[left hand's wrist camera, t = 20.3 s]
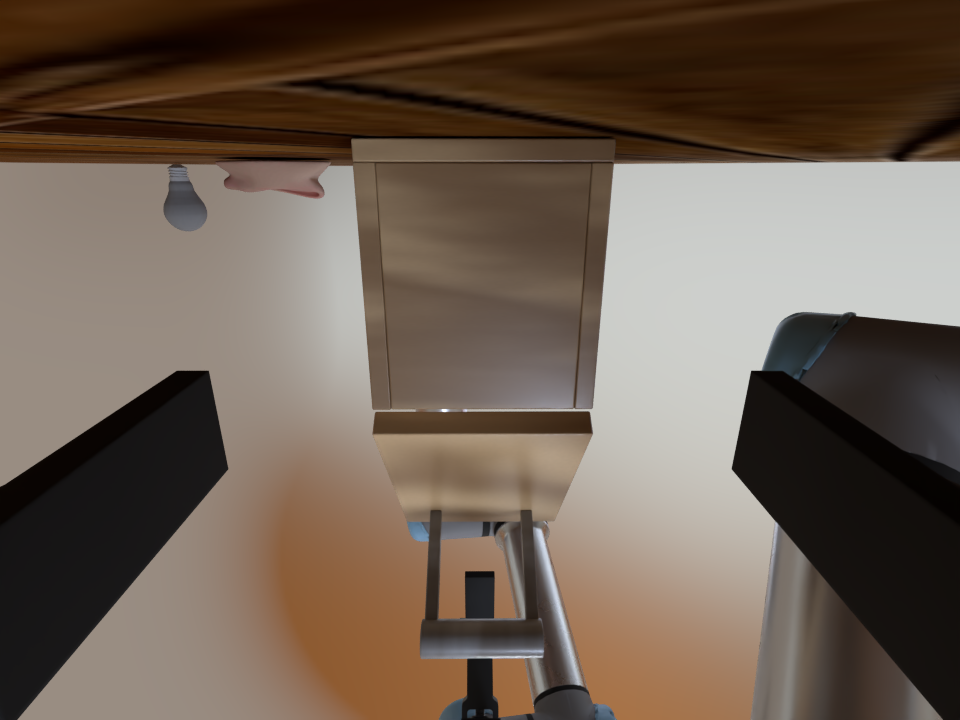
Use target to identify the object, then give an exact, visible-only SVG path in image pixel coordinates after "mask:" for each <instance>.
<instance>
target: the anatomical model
mask: <svg viewBox="0 0 960 720" xmlns="http://www.w3.org/2000/svg"><path fill="white" fill-rule="evenodd" d="M215 163H216V164H217V165H218V166H219V167H221V168H222V169H224V170H225V171H227V172H228V173H229V174H230V176H229V177H228V178H226V179H225V180H224V185H225V187H226V188H228V189H233V190H240V191H244V192H258V191H264V190H275V191H280V192H285V193H290V194H295V195H299V196H304V197H309V198H322V197H323V196H324V190H323V187H322V186H321V185H320V184H319V182H318V177H319V176H320V175H321V174H322V173H323V171H324V170H325V169H326V168H327V167H328V166H329V165H330V164H331V162H328V161H289V160H227V161H216V162H215Z"/></svg>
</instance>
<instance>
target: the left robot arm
mask: <svg viewBox="0 0 960 720" xmlns="http://www.w3.org/2000/svg"><path fill="white" fill-rule="evenodd" d="M227 470H228V465H227V460H226V455H225V450H224V445H223V440H222V435H221V430H220V425H219V420H218V415H217V410H216V405H215V400H214V395H213V390H212V385H211V380H210V375H209V371H176V372H174V373H173V374H171V375H170V376H168V377H167V378H165V379H164V380H162V381H161V382H159V383H158V384H156V385H155V386H153V387H152V388H150V389H149V390H147V391H146V392H144V393H143V394H141V395H140V396H138V397H137V398H135V399H134V400H132V401H131V402H129V403H128V404H126V405H125V406H123V407H122V408H120V409H119V410H117V411H116V412H114V413H113V414H111V415H110V416H108V417H106V418H105V419H103V420H102V421H100V422H99V423H97V424H96V425H94V426H93V427H91V428H90V429H88V430H87V431H85V432H84V433H82V434H81V435H79V436H78V437H76V438H75V439H73V440H72V441H70V442H69V443H67V444H66V445H64V446H63V447H61V448H60V449H58V450H57V451H55V452H54V453H52V454H51V455H49V456H48V457H46V458H44V459H43V460H41V461H40V462H38V463H37V464H35V465H34V466H32V467H31V468H29V469H28V470H26V471H25V472H23V473H22V474H20V475H19V476H17V477H16V478H14V479H13V480H11V481H10V482H8V483H7V484H5V485H3V486H1V487H0V720H17V719H18V718H19V717H20V716H21V714H22V713H23V712H24V711H25V710H26V709H27V707H28V706H29V705H30V704H31V703H32V702H33V700H34V699H35V698H36V697H37V696H38V694H39V693H40V692H41V691H42V690H43V688H44V687H45V686H46V685H47V684H48V682H49V681H50V680H51V679H52V678H53V677H54V675H55V674H56V673H57V672H58V671H59V669H60V668H61V667H62V666H63V665H64V664H65V662H66V661H67V660H68V659H69V658H70V656H71V655H72V654H73V653H74V652H75V651H76V649H77V648H78V647H79V646H80V644H81V643H82V642H83V641H84V640H85V639H86V637H87V636H88V635H89V634H90V633H91V632H92V630H93V629H94V628H95V627H96V626H97V624H98V623H99V622H100V621H101V620H102V618H103V617H104V616H105V615H106V614H107V613H108V611H109V610H110V609H111V608H112V607H113V605H114V604H115V603H116V602H117V601H118V599H119V598H120V597H121V596H122V595H123V594H124V592H125V591H126V590H127V589H128V588H129V586H130V585H131V584H132V583H133V582H134V580H135V579H136V578H137V577H138V576H139V575H140V573H141V572H142V571H143V570H144V569H145V567H146V566H147V565H148V564H149V563H150V561H151V560H152V559H153V558H154V557H155V555H156V554H157V553H158V552H159V551H160V550H161V548H162V547H163V546H164V545H165V544H166V542H167V541H168V540H169V539H170V538H171V537H172V535H173V534H174V533H175V532H176V531H177V529H178V528H179V527H180V526H181V525H182V523H183V522H184V521H185V520H186V519H187V518H188V516H189V515H190V514H191V513H192V512H193V510H194V509H195V508H196V507H197V506H198V505H199V503H200V502H201V501H202V500H203V499H204V497H205V496H206V495H207V494H208V493H209V491H210V490H211V489H212V488H213V487H214V486H215V484H216V483H217V482H218V481H219V480H220V478H221V477H222V476H223V475H224V474H225V472H226V471H227ZM732 470H733V471H734V472H735V474H736V475H737V476H738V477H739V478H740V480H741V481H742V482H743V483H744V484H745V486H746V487H747V488H748V489H749V490H750V491H751V493H752V494H753V495H754V496H755V497H756V499H757V500H758V501H759V502H760V503H761V505H762V506H763V507H764V508H765V509H766V510H767V512H768V513H769V514H770V515H771V516H772V518H773V519H774V520H775V526H774V534H773V542H772V550H771V559H770V567H769V575H768V583H767V591H766V599H765V607H764V615H763V623H762V631H761V639H760V648H759V655H758V663H757V671H756V680H755V688H754V696H753V704H752V712H751V720H960V327H958V326H948V325H938V324H928V323H918V322H908V321H898V320H889V319H879V318H869V317H858V316H856V313H853V312H848V313H845V314H843V315H842V314H827V313H812V312H801V313H795V314H792V315H790V316H788V317H787V318H785V319H784V320H782V321H781V322H780V324H779V325H778V326H777V328H776V330H775V333H774V336H773V338H772V341H771V344H770V347H769V350H768V353H767V356H766V359H765V362H764V365H763V368H762V371H751V375H750V380H749V385H748V390H747V395H746V400H745V405H744V410H743V415H742V420H741V425H740V430H739V435H738V440H737V445H736V450H735V455H734V460H733V465H732Z"/></svg>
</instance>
